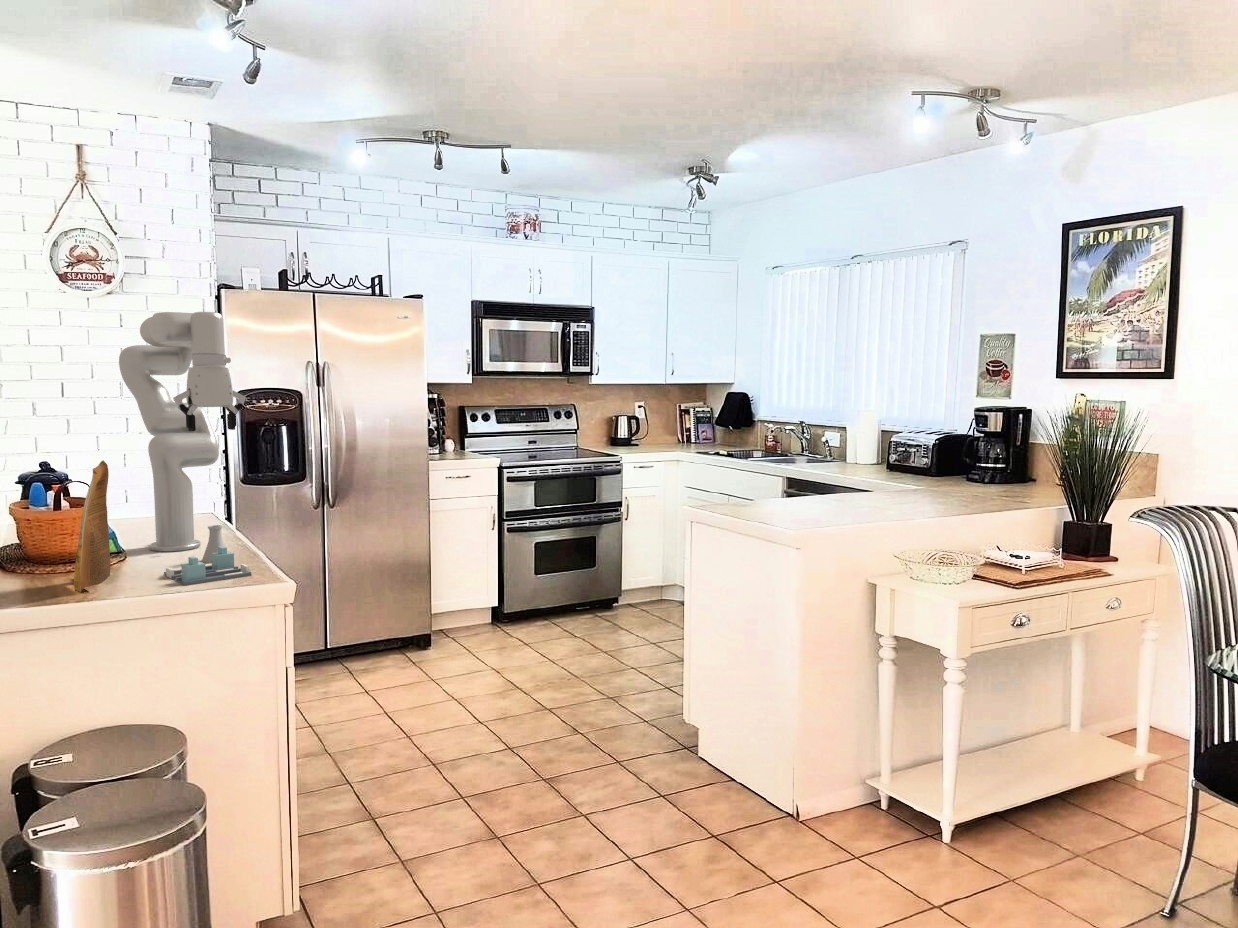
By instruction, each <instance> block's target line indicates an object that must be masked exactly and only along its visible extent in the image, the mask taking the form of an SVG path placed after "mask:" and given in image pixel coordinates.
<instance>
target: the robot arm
mask: <svg viewBox="0 0 1238 928" xmlns="http://www.w3.org/2000/svg"><path fill="white" fill-rule="evenodd" d="M139 334H140V337H141V339H142V340H143V342H145V343H147V344H139V345H138V344H137V345H130V346H127V347H124V348H123V349H122V351H120V354H119V356H118V365H119V367H118V368H119V371H120V375H121V377H122V380H123V383H124V384H125V386H126V387H127V388H128V390H129V391H130V394H132V395H133V398H134V399H135V402H136V403H137V407H138V409H139V412H140V416H141V418H142V421H143V424H144V426H145V429H146V431H147V432H148V433H149V434H150V435H151V436H153V438H151V440H150V441H149V443H148V447H147V449H148V450H147V451H148V456H149V461H150V465H151V472H152V477H153V478H152V479H153V497H154V499H153V500H154V501H153V502H154V522H155V542H152V543H150V544H149V549H150V550H152V551H155V552H179V551H186V550H187V551H188V550H192V549H197V548H199V547H201V545H202V544H201V541H200V540H199V539H195V524H194V523H195V522H194V521H195V519H194V495H193V483H192V480H191V479H190V477H189V476H188V475H187V474H186V473H185V472H184V470H183V469H184V468H196V467H198V468H199V467H207V466H211V465H213V464H215V463H216V462H217V461H218V459H219V454H220V449H219V443H218V440H217V438H216V436H215V432H214V430H213V428H212V425H211V422H210V420H209V417H208V415H207V412H206V411H205V409H204V408H218V407H219V408H223V407H224V409H225V410H226V411H227V412H228V413H227V414H226V419H227V420H226V421H227V423H226V424H227V426H226V427H227V430H229V431H231V430H232V431H233V430H236V427H237V414H239V411H240V410H241V409H242V408H243V406H244V404H245V402H246V399H247V397H246V396H245V395H243V394H241V393H239V392H237V391H235V390H233V384H232V378H231V375H230V370H229V367H226V366H227V364H230V363H231V362H232V361H231V357H227V355H226V350H225V347H226V346H225V328H224V318H223V315H222V314H221V313H219V312H215V311H196V312H179V311H177V312H176V311H175V312H174V311H173V312H172V311H164V312H163V311H161V312H155V313H154V314H153V315H152V316H151V317H150V316H149V317H148V318H145V320H144V321H143V322H142V323H141V324H140V328H139ZM191 364H192V367H190V366H191ZM186 373H187V375H186V377H187V379H186V391H183V392H182V393H179V394H178V395H175V396H173V400H172V398H171V396H170V393H169V390H168V389H167V388H166V387H165V386H164V385H163V384H162V383H161V382H159V381H158V380H157V379H155V378H154V377H152V376H181V375H184V374H186ZM234 398H235V399H236V400H237V402H236V404H235V405H233V404H234ZM184 399H185V400H186V402H183V400H184Z"/></svg>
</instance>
